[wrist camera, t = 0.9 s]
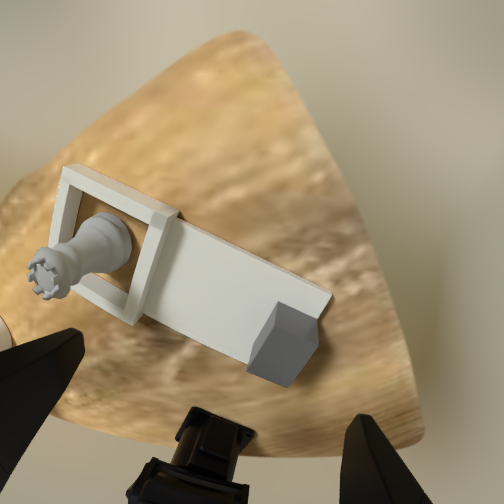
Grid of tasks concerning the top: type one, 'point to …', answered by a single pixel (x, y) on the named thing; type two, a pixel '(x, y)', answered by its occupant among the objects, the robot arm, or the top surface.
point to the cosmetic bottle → (4, 336)
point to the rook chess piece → (81, 256)
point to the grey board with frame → (199, 283)
